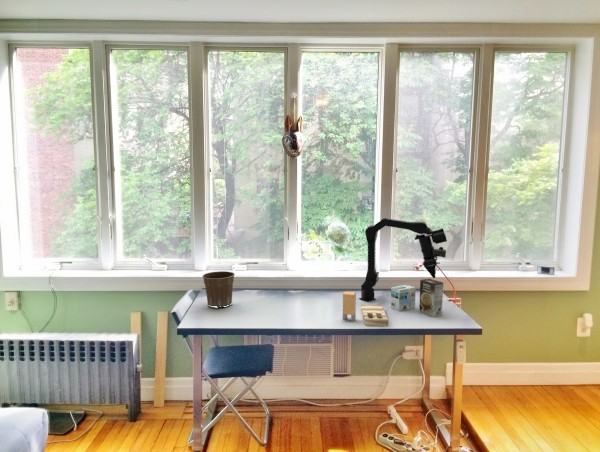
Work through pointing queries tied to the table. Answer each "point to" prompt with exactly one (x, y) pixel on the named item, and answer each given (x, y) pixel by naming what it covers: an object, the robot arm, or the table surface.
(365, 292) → the robot arm
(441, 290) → the coffee box
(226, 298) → the plant pot
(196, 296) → the table surface
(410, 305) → the light bulb box
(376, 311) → the beige flat slab
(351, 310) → the tan tall block
